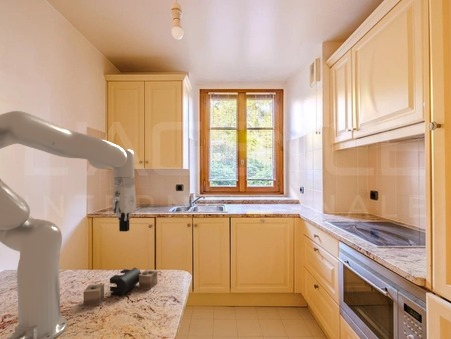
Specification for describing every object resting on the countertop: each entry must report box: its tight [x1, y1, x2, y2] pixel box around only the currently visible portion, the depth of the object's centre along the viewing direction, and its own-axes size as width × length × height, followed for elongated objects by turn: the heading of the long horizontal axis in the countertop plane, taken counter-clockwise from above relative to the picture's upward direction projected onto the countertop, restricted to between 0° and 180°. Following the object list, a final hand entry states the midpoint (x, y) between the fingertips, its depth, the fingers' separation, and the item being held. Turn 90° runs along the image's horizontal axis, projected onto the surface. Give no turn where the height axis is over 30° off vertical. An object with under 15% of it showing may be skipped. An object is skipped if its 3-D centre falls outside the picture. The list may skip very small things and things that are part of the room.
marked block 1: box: [82, 283, 105, 308], centre depth 88 cm, size 5×5×5 cm
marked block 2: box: [138, 269, 158, 290], centre depth 99 cm, size 5×5×5 cm
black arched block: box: [109, 267, 142, 297], centre depth 96 cm, size 10×7×7 cm
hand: (124, 230), depth 96 cm, fingers closed
